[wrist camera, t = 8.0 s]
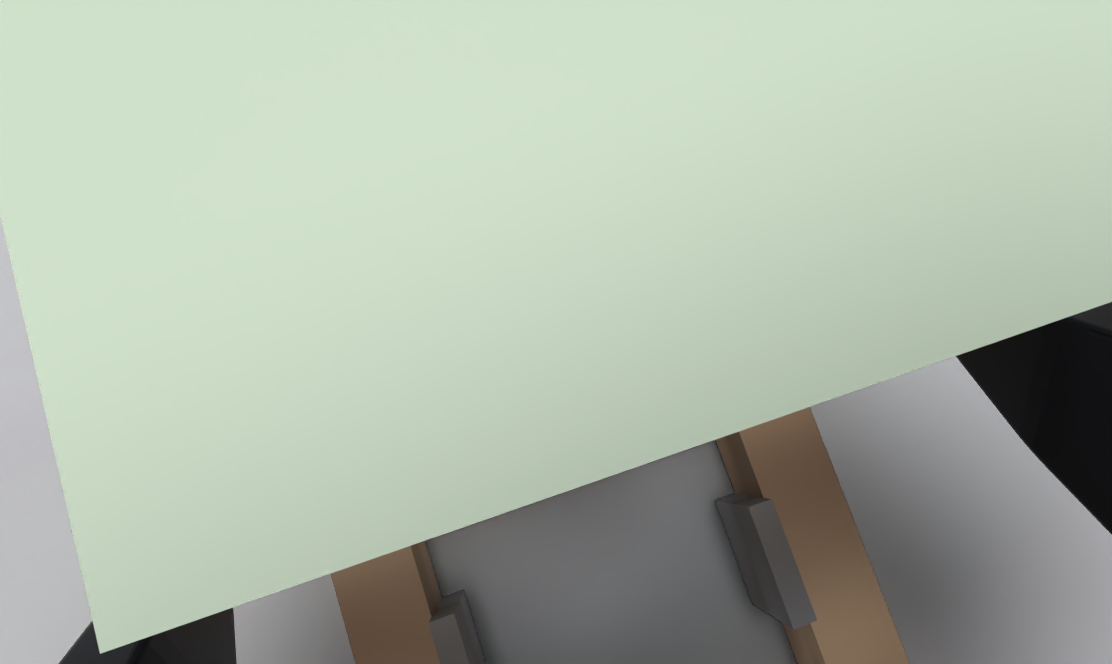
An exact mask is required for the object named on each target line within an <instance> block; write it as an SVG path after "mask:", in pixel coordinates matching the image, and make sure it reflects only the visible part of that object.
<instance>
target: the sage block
mask: <svg viewBox="0 0 1112 664" xmlns="http://www.w3.org/2000/svg"><path fill="white" fill-rule="evenodd" d="M0 216H1V221H2V225H3V229H4V234H5V238H6V243H7V247H8V251H9V256H10V260H11V265H12V269H13V273H14V278H15V282H16V287H17V291H18V295H19V300H20V304H21V309H22V313H23V317H24V322H25V326H26V331H27V335H28V339H29V344H30V348H31V353H32V357H33V361H34V366H35V370H36V375H37V379H38V383H39V388H40V392H41V397H42V401H43V405H44V410H45V414H46V419H47V423H48V427H49V432H50V436H51V441H52V445H53V449H54V454H55V458H56V462H57V467H58V471H59V476H60V480H61V484H62V489H63V493H64V498H65V502H66V506H67V511H68V515H69V520H70V524H71V528H72V533H73V537H74V542H75V546H76V550H77V555H78V559H79V564H80V568H81V572H82V577H83V581H84V586H85V590H86V594H87V599H88V603H89V608H90V612H91V616H92V621H93V625H94V630H95V634H96V638H97V643H98V647H99V652H100V654H101V653H104V652H107V651H109V650H112V649H115V648H118V647H121V646H124V645H127V644H130V643H132V642H135V641H138V640H141V639H144V638H147V637H150V636H153V635H155V634H158V633H161V632H164V631H167V630H170V629H173V628H176V627H178V626H181V625H184V624H187V623H190V622H193V621H196V620H199V619H201V618H204V617H207V616H210V615H213V614H216V613H219V612H221V611H224V610H227V609H230V608H233V607H236V606H239V605H242V604H244V603H247V602H250V601H253V600H256V599H259V598H262V597H265V596H267V595H270V594H273V593H276V592H279V591H282V590H285V589H288V588H290V587H293V586H296V585H299V584H302V583H305V582H308V581H311V580H313V579H316V578H319V577H322V576H325V575H328V574H331V573H334V572H336V571H339V570H342V569H345V568H348V567H351V566H354V565H357V564H359V563H362V562H365V561H368V560H371V559H374V558H377V557H380V556H382V555H385V554H388V553H391V552H394V551H397V550H400V549H403V548H405V547H408V546H411V545H414V544H417V543H420V542H423V541H426V540H428V539H431V538H434V537H437V536H440V535H443V534H446V533H449V532H451V531H454V530H457V529H460V528H463V527H466V526H469V525H472V524H474V523H477V522H480V521H483V520H486V519H489V518H492V517H495V516H497V515H500V514H503V513H506V512H509V511H512V510H515V509H518V508H520V507H523V506H526V505H529V504H532V503H535V502H538V501H541V500H543V499H546V498H549V497H552V496H555V495H558V494H561V493H564V492H566V491H569V490H572V489H575V488H578V487H581V486H584V485H587V484H589V483H592V482H595V481H598V480H601V479H604V478H607V477H609V476H612V475H615V474H618V473H621V472H624V471H627V470H630V469H632V468H635V467H638V466H641V465H644V464H647V463H650V462H653V461H655V460H658V459H661V458H664V457H667V456H670V455H673V454H676V453H678V452H681V451H684V450H687V449H690V448H693V447H696V446H699V445H701V444H704V443H707V442H710V441H713V440H716V439H719V438H722V437H724V436H727V435H730V434H733V433H736V432H739V431H742V430H745V429H747V428H750V427H753V426H756V425H759V424H762V423H765V422H768V421H770V420H773V419H776V418H779V417H782V416H785V415H788V414H791V413H793V412H796V411H799V410H802V409H805V408H808V407H811V406H814V405H816V404H819V403H822V402H825V401H828V400H831V399H834V398H837V397H839V396H842V395H845V394H848V393H851V392H854V391H857V390H860V389H862V388H865V387H868V386H871V385H874V384H877V383H880V382H883V381H885V380H888V379H891V378H894V377H897V376H900V375H903V374H906V373H908V372H911V371H914V370H917V369H920V368H923V367H926V366H929V365H931V364H934V363H937V362H940V361H943V360H946V359H949V358H952V357H954V356H957V355H960V354H963V353H966V352H969V351H972V350H975V349H977V348H980V347H983V346H986V345H989V344H992V343H995V342H998V341H1000V340H1003V339H1006V338H1009V337H1012V336H1015V335H1018V334H1020V333H1023V332H1026V331H1029V330H1032V329H1035V328H1038V327H1041V326H1043V325H1046V324H1049V323H1052V322H1055V321H1058V320H1061V319H1064V318H1066V317H1069V316H1072V315H1075V314H1078V313H1081V312H1084V311H1087V310H1089V309H1092V308H1095V307H1098V306H1101V305H1104V304H1107V303H1110V302H1112V0H0Z"/></svg>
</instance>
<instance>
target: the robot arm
mask: <svg viewBox="0 0 1112 664" xmlns="http://www.w3.org/2000/svg"><path fill="white" fill-rule="evenodd" d="M956 357H957V358H958V360H959V361H960V362H961V363H962V365H963V366H964V367H965V368H966V370H967V371H968V372H969V373H970V375H971V376H972V377H973V379H974V380H975V381H976V382H977V384H978V385H979V386H980V387H981V389H982V390H983V391H984V392H985V394H986V395H987V396H988V398H989V399H990V400H991V401H992V403H993V404H994V405H995V406H996V408H997V409H998V410H999V411H1000V413H1001V414H1002V415H1003V417H1004V418H1005V419H1006V420H1007V422H1008V423H1009V424H1010V425H1011V427H1012V428H1013V429H1014V430H1015V432H1016V433H1017V434H1018V435H1019V437H1020V438H1021V439H1022V440H1023V441H1024V443H1025V444H1026V445H1027V446H1028V447H1029V449H1030V450H1031V451H1032V452H1033V453H1034V454H1035V455H1036V456H1037V457H1038V459H1039V460H1040V461H1041V462H1042V463H1043V464H1044V465H1045V466H1046V467H1047V468H1048V469H1049V470H1050V471H1051V472H1052V473H1053V474H1054V475H1055V477H1056V478H1057V479H1058V480H1059V481H1060V482H1061V483H1062V484H1063V485H1064V486H1065V487H1066V488H1067V489H1068V490H1069V491H1070V492H1071V493H1072V494H1073V495H1074V496H1075V497H1076V498H1077V499H1078V500H1079V501H1080V502H1081V503H1082V504H1083V505H1084V506H1085V507H1086V509H1087V510H1088V511H1089V512H1090V513H1091V514H1092V515H1093V516H1094V517H1095V518H1096V519H1097V520H1098V521H1099V522H1100V523H1101V524H1102V525H1103V526H1104V527H1105V528H1106V529H1107V530H1108V531H1109V532H1110V533H1111V534H1112V302H1110V303H1107V304H1104V305H1101V306H1098V307H1095V308H1092V309H1089V310H1087V311H1084V312H1081V313H1078V314H1075V315H1072V316H1069V317H1066V318H1064V319H1061V320H1058V321H1055V322H1052V323H1049V324H1046V325H1043V326H1041V327H1038V328H1035V329H1032V330H1029V331H1026V332H1023V333H1020V334H1018V335H1015V336H1012V337H1009V338H1006V339H1003V340H1000V341H998V342H995V343H992V344H989V345H986V346H983V347H980V348H977V349H975V350H972V351H969V352H966V353H963V354H960V355H957V356H956ZM59 664H236V648H235V631H234V614H233V608H230V609H227V610H224V611H221V612H219V613H216V614H213V615H210V616H207V617H204V618H201V619H199V620H196V621H193V622H190V623H187V624H184V625H181V626H178V627H176V628H173V629H170V630H167V631H164V632H161V633H158V634H155V635H153V636H150V637H147V638H144V639H141V640H138V641H135V642H132V643H130V644H127V645H124V646H121V647H118V648H115V649H112V650H109V651H107V652H104V653H101V654H100V652H99V647H98V643H97V638H96V634H95V630H94V625H93V621H92V622H91V623H90V624H89V625H88V627H87V628H86V629H85V631H84V632H83V633H82V634H81V636H80V637H79V638H78V640H77V641H76V642H75V643H74V645H73V646H72V647H71V648H70V650H69V651H68V652H67V654H66V655H65V656H64V657H63V659H62V660H61V661H60V663H59Z"/></svg>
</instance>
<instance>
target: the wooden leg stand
mask: <svg viewBox="0 0 1112 664" xmlns="http://www.w3.org/2000/svg"><path fill="white" fill-rule="evenodd" d="M716 443H717V446H718V449H719V451H720V454H721V457H722V459H723V462H724V465H725V468H726V470H727V473H728V476H729V479H730V481H731V484H732V487H733V489H734V492H735V493H734V494H731V495H728V496H725V497H723V498H720V499H717V500H715V502H716V505H717V508H718V511H719V513H720V516H721V519H722V522H723V524H724V527H725V530H726V533H727V535H728V538H729V541H730V544H731V546H732V549H733V552H734V555H735V558H736V560H737V563H738V566H739V569H740V571H741V574H742V577H743V580H744V582H745V585H746V588H747V591H748V593H749V596H750V599H751V602H752V604H753V605H755V606H756V607H758V608H760V609H761V610H763V611H765V612H766V613H768V614H769V615H771V616H773V617H774V618H776V619H777V620H779V621H781V622H782V623H783V626H784V628H785V631H786V634H787V637H788V639H789V642H790V645H791V648H792V650H793V653H794V656H795V658H796V661H797V664H910V663H909V661H908V658H907V656H906V653H905V650H904V648H903V645H902V643H901V640H900V638H899V635H898V632H897V630H896V627H895V625H894V622H893V620H892V617H891V614H890V612H889V609H888V607H887V604H886V602H885V599H884V596H883V594H882V591H881V589H880V586H879V584H878V581H877V578H876V576H875V573H874V571H873V568H872V566H871V563H870V561H869V558H868V555H867V553H866V550H865V548H864V545H863V543H862V540H861V537H860V535H859V532H858V530H857V527H856V525H855V522H854V519H853V517H852V514H851V512H850V509H849V507H848V504H847V501H846V499H845V496H844V494H843V491H842V489H841V486H840V483H839V481H838V478H837V476H836V473H835V471H834V468H833V465H832V463H831V460H830V458H829V455H828V453H827V450H826V447H825V445H824V442H823V440H822V437H821V435H820V432H819V429H818V427H817V424H816V422H815V419H814V417H813V414H812V412H811V409H810V407H808V408H805V409H802V410H799V411H796V412H793V413H791V414H788V415H785V416H782V417H779V418H776V419H773V420H770V421H768V422H765V423H762V424H759V425H756V426H753V427H750V428H747V429H745V430H742V431H739V432H736V433H733V434H730V435H727V436H724V437H722V438H719V439H716ZM331 577H332V580H333V584H334V587H335V591H336V595H337V598H338V602H339V605H340V609H341V612H342V616H343V620H344V623H345V627H346V630H347V634H348V638H349V641H350V645H351V648H352V652H353V656H354V659H355V663H356V664H486V661H485V658H484V654H483V651H482V648H481V644H480V641H479V638H478V635H477V631H476V628H475V625H474V621H473V618H472V615H471V612H470V608H469V605H468V602H467V598H466V595H465V592H464V590H462V591H460V592H457V593H454V594H451V595H448V596H446V597H443V598H442V596H441V592H440V589H439V586H438V582H437V579H436V576H435V572H434V569H433V566H432V562H431V559H430V556H429V552H428V549H427V546H426V542H425V541H423V542H420V543H417V544H414V545H411V546H408V547H405V548H403V549H400V550H397V551H394V552H391V553H388V554H385V555H382V556H380V557H377V558H374V559H371V560H368V561H365V562H362V563H359V564H357V565H354V566H351V567H348V568H345V569H342V570H339V571H336V572H334V573H331Z"/></svg>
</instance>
